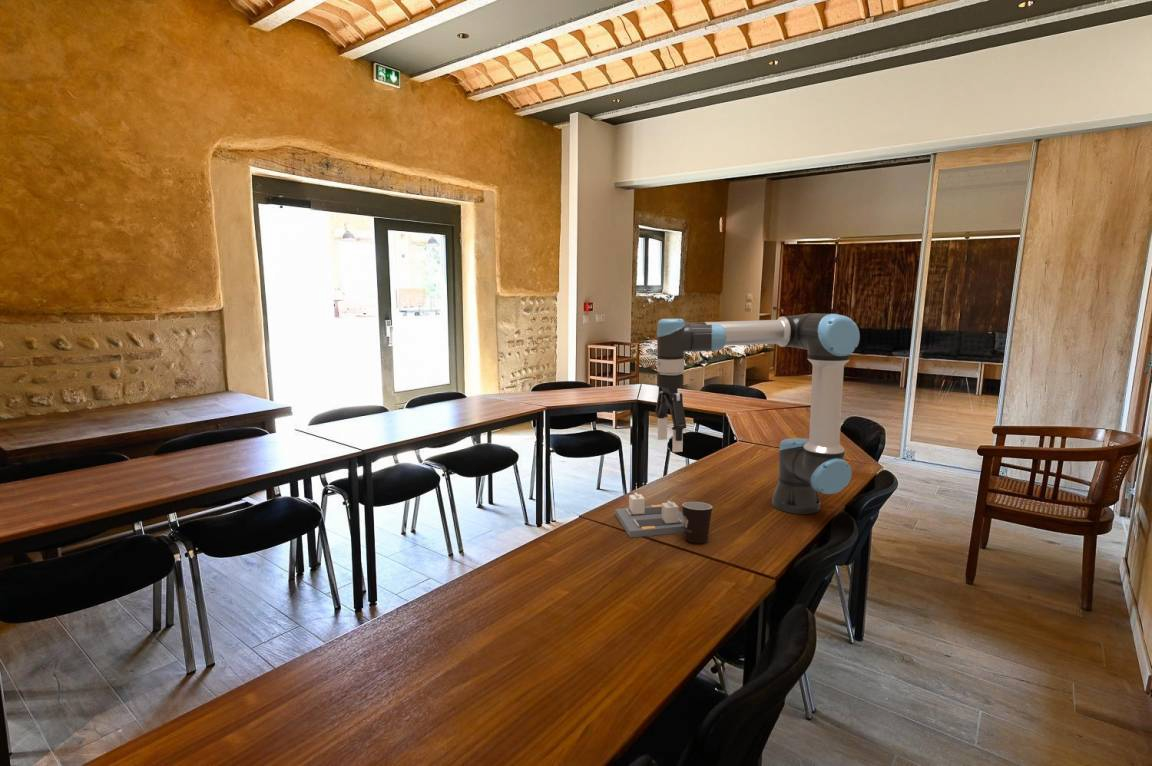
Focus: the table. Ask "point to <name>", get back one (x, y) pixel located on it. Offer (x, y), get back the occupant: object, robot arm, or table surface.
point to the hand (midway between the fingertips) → (669, 445)
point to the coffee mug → (696, 521)
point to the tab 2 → (670, 512)
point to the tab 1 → (636, 504)
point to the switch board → (648, 522)
